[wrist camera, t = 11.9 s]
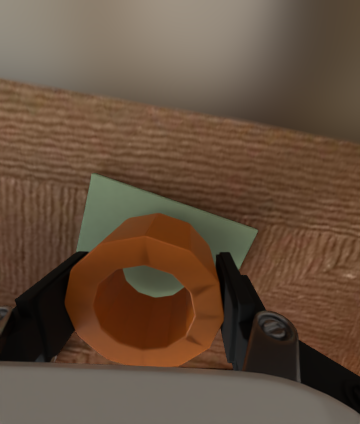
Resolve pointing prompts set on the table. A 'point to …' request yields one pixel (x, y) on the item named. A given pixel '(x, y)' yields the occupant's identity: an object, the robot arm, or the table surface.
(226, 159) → the table surface
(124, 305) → the ring
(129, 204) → the mat
